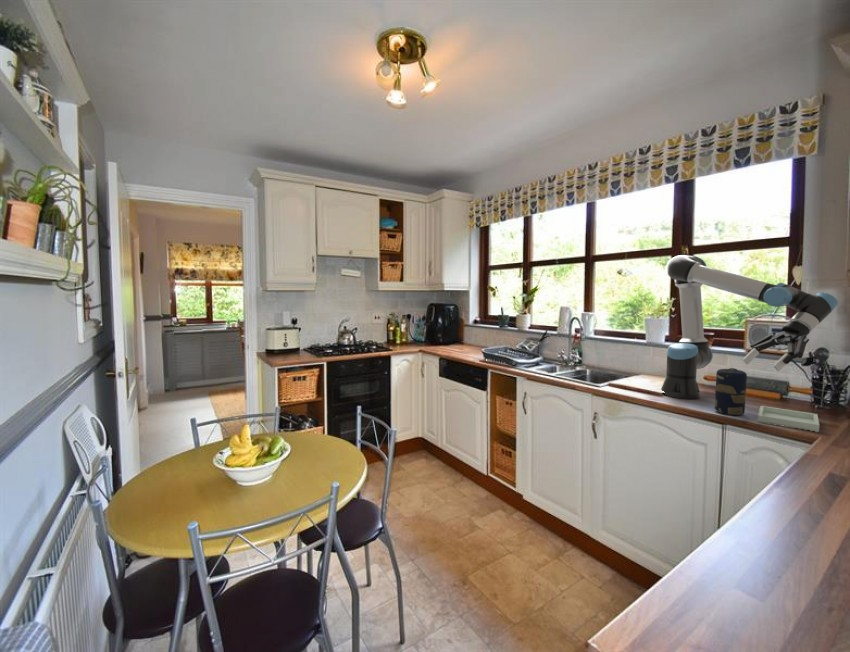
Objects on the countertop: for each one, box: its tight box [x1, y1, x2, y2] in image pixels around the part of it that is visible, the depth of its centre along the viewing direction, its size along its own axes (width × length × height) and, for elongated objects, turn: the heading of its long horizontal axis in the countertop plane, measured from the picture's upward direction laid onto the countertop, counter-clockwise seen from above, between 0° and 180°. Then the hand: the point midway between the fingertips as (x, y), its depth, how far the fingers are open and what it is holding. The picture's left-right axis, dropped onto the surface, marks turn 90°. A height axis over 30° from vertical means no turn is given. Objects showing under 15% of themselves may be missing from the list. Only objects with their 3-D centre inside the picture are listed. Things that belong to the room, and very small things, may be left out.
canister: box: [714, 367, 748, 416], centre depth 155 cm, size 10×10×18 cm
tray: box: [757, 405, 820, 433], centre depth 146 cm, size 16×16×3 cm
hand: (759, 365), depth 155 cm, fingers open, 13 cm apart
